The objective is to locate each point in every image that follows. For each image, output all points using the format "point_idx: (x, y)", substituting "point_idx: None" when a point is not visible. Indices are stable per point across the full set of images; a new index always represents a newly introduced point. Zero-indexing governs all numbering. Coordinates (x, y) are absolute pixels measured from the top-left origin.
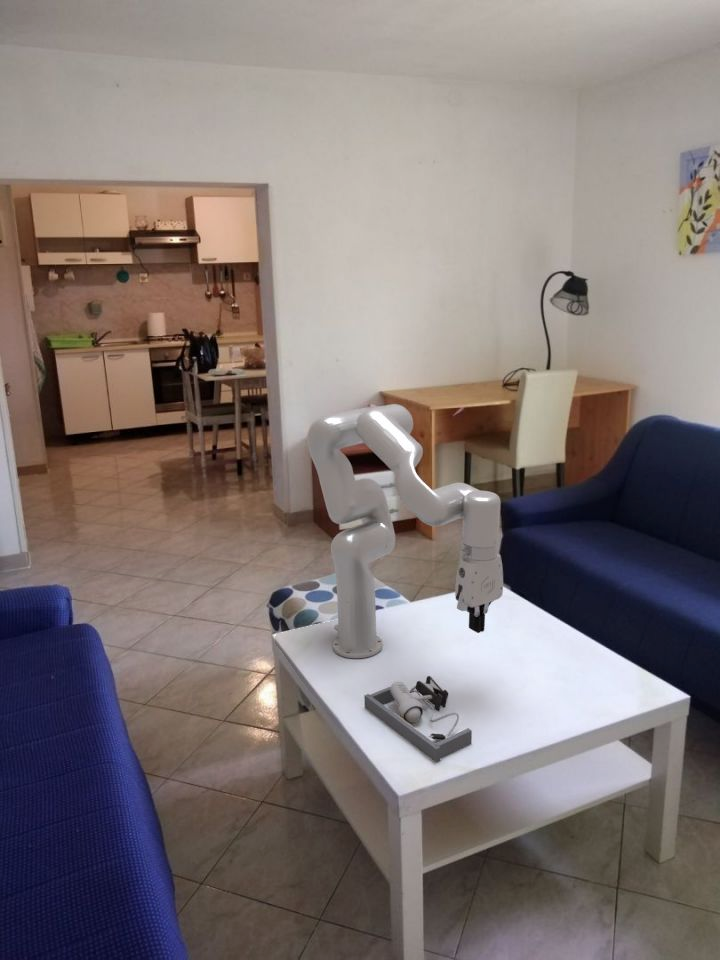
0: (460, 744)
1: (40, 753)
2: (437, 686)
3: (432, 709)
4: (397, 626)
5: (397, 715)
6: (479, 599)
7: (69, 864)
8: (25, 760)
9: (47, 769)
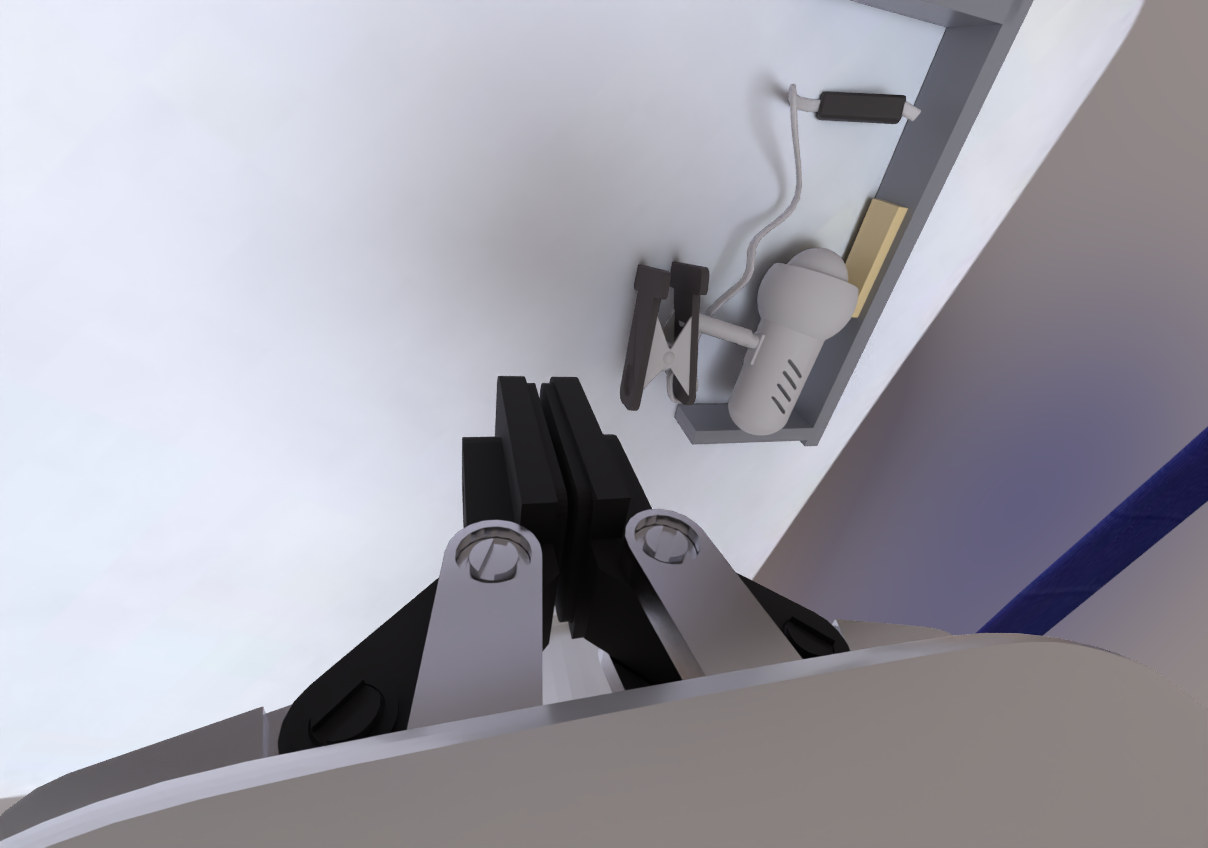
0: None
1: (1104, 566)
2: (653, 340)
3: (755, 249)
4: None
5: (857, 303)
6: (1089, 841)
7: None
8: (1122, 561)
9: (1139, 534)
